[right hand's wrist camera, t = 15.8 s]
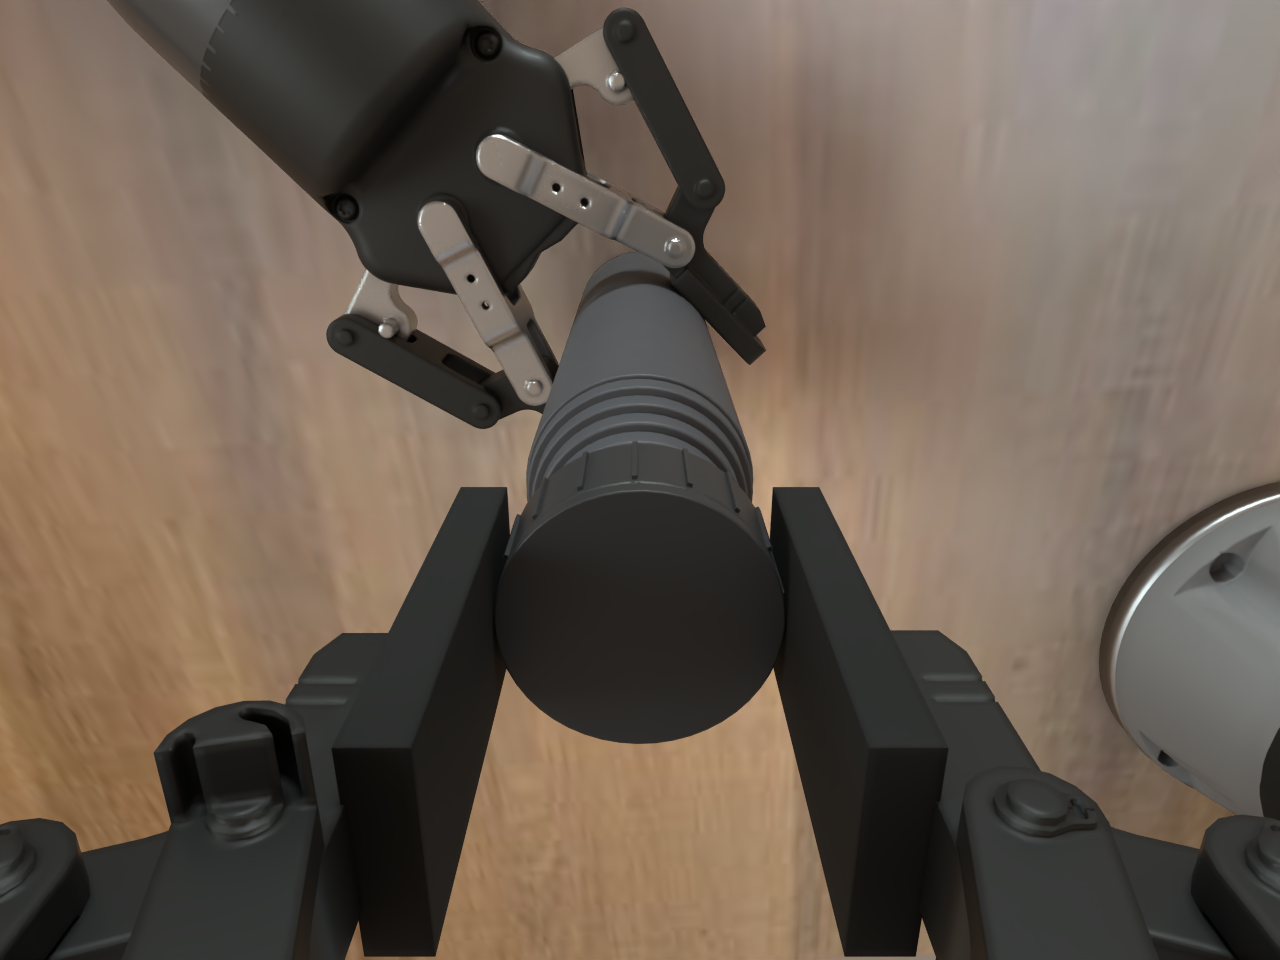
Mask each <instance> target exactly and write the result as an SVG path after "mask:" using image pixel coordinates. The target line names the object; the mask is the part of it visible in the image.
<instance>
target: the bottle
mask: <svg viewBox="0 0 1280 960" xmlns="http://www.w3.org/2000/svg"><path fill="white" fill-rule="evenodd" d="M669 273H670V272H669V271H668V270H667V269H666V268H665V267H664V266H663V265H662V264H661V263H659V262H657V261H655V260H653V259H651V258H649V257H648V256H646V255H644V254H642V253H640V252H632V253H627V254H622V255H620V256H617V257H615V258H613V259H611V260H609V261H607V262H606V263H605V264H603V265H602V266H601V267H600V268H599V269H598V270H597V271H596V272H595V273H594V274H593V276H592V277H591V278H590V280H589V282H588V283H587V286H586V288H585V290H584V293H583V296H582V299H581V302H580V305H579V308H578V311H577V314H576V317H575V320H574V323H573V326H572V329H571V332H570V334H569V337H568V340H567V343H566V346H565V349H564V352H563V355H562V358H561V361H560V364H559V367H558V370H557V373H556V376H555V379H554V382H553V385H552V388H551V391H550V394H549V397H548V400H547V403H546V406H545V409H544V412H543V415H542V417H541V420H540V423H539V426H538V429H537V432H536V435H535V438H534V441H533V444H532V447H531V451H530V455H529V458H528V465H527V473H526V474H527V501H529V500H530V499H531V497H532V496H533V494H534V493H535V492H536V490H537V489H538V488H539V487H540V485H541V481H542V479H543V478H544V477H546V478H547V479H548V478H549V477H550V476H552V475H553V474H554V473H555V472H557V471H558V470H559V469H560V468H562V467H564V466H565V465H567V464H568V463H570V462H572V461H573V460H575V459H577V458H580V457H582V454H583V452H586V451H588V453H591V452H594V451H598V450H601V449H604V448H608V447H614V446H620V445H629V444H632V442H633V441H638V444H650V445H661V446H666V447H671V448H675V449H680V450H683V448H686V449H688V452H689V453H691V454H694V455H696V456H698V457H700V458H702V459H704V460H706V461H708V462H710V463H711V464H713V465H714V466H716V467H717V468H719V469H720V470H722V471H723V472H725V473H726V472H727V471H728V472H730V473H731V475H732V479H733V480H734V481H735V482H736V483H737V484H738V485H739V487H740V488H741V489H742V490H743V491H744V492H745V493H746V495H747V496H748V498H749V499H750V501H751V502H752V495H753V468H752V462H751V457H750V452H749V449H748V446H747V443H746V440H745V437H744V434H743V431H742V428H741V426H740V423H739V420H738V417H737V414H736V411H735V408H734V405H733V402H732V399H731V396H730V393H729V390H728V387H727V384H726V381H725V378H724V375H723V372H722V369H721V366H720V363H719V360H718V357H717V354H716V352H715V349H714V346H713V343H712V340H711V337H710V334H709V331H708V328H707V325H706V322H705V319H704V318H703V317H702V316H701V315H700V314H699V312H698V311H697V310H696V309H695V308H694V307H693V306H692V304H690V303H689V302H688V301H687V300H686V299H685V298H684V297H683V296H682V295H681V294H680V293H679V292H678V291H677V290H676V288H675V287H674V286H673V285H672V284H671V279H670V274H669Z"/></svg>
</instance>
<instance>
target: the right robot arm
mask: <svg viewBox="0 0 1280 960" xmlns="http://www.w3.org/2000/svg"><path fill="white" fill-rule="evenodd" d="M509 537H510V528H509V512H508V495H507V487H461V488H460V490H459V492H458V494H457V496H456V498H455V500H454V502H453V504H452V506H451V508H450V510H449V512H448V514H447V516H446V518H445V520H444V522H443V524H442V526H441V528H440V530H439V532H438V534H437V536H436V538H435V540H434V542H433V544H432V546H431V548H430V550H429V553H428V555H427V557H426V559H425V561H424V563H423V565H422V567H421V569H420V571H419V573H418V575H417V577H416V579H415V581H414V583H413V585H412V587H411V589H410V591H409V593H408V595H407V597H406V599H405V601H404V603H403V605H402V607H401V609H400V611H399V613H398V615H397V617H396V619H395V621H394V623H393V625H392V627H391V629H390V631H389V633H342V634H341V635H339V636H338V637H337V638H335V639H334V640H333V641H331V642H330V643H329V644H327V645H326V646H325V647H323V648H322V649H321V650H319V651H318V652H316V653H315V654H314V655H313V657H312V658H311V660H310V661H309V663H308V665H307V666H306V668H305V670H304V671H303V673H302V674H301V676H300V678H299V682H298V684H295V686H294V687H293V689H292V691H291V692H290V694H289V695H288V697H287V699H286V704H285V705H284V704H280V703H277V702H273V701H242V702H237V703H233V704H228V705H224V706H220V707H215V708H213V709H211V710H209V711H206V712H204V713H202V714H199V715H197V716H195V717H193V718H190V719H188V720H187V721H185V722H184V723H183V724H181V725H180V726H179V727H177V728H176V729H174V730H173V731H172V732H170V733H169V734H168V735H166V737H165V738H164V740H163V741H162V742H161V744H160V745H159V746H158V748H157V749H156V750H155V752H154V756H155V760H156V764H157V768H158V772H159V776H160V780H161V784H162V788H163V792H164V796H165V800H166V804H167V808H168V812H169V816H170V820H171V826H170V829H169V831H167V832H163V833H160V834H157V835H153V836H150V837H147V838H143V839H139V840H135V841H130V842H126V843H122V844H117V845H113V846H108V847H104V848H100V849H95V850H91V851H87V852H82V853H81V851H80V847H79V844H78V841H77V837H76V834H75V833H74V832H73V831H72V830H71V829H69V828H68V827H67V826H66V825H65V824H64V823H63V822H58V821H53V820H47V819H42V818H36V819H28V820H19V821H11V822H7V823H4V824H1V825H0V960H345V957H346V954H347V951H348V949H349V946H350V943H351V940H352V937H353V934H354V932H355V929H356V926H357V923H358V920H359V926H360V932H361V938H362V945H363V951H364V957H435V956H436V952H437V948H438V944H439V940H440V936H441V931H442V927H443V923H444V919H445V915H446V911H447V907H448V903H449V899H450V895H451V891H452V887H453V883H454V879H455V875H456V871H457V867H458V863H459V859H460V855H461V850H462V846H463V842H464V838H465V834H466V830H467V826H468V822H469V818H470V814H471V810H472V806H473V802H474V798H475V794H476V790H477V786H478V782H479V778H480V773H481V769H482V765H483V761H484V757H485V753H486V749H487V745H488V741H489V737H490V733H491V729H492V725H493V721H494V717H495V713H496V709H497V705H498V701H499V696H500V692H501V688H502V684H503V680H504V676H505V672H506V666H505V664H504V661H503V659H502V657H501V655H500V651H499V648H498V644H497V640H496V635H495V627H494V604H495V598H496V593H497V588H498V585H499V581H500V578H501V575H502V572H503V568H504V565H505V562H506V560H505V559H503V556H504V553H505V550H506V547H507V543H508V540H509ZM770 542H771V545H772V549H773V550H772V553H773V556H774V560H775V563H776V566H777V569H778V573H779V576H780V579H781V582H782V585H783V589H784V592H785V593H784V601H785V608H786V622H785V632H784V638H783V643H782V646H781V650H780V653H779V656H778V659H777V661H776V663H775V665H774V667H773V668H774V672H775V676H776V680H777V684H778V688H779V692H780V696H781V700H782V705H783V709H784V713H785V717H786V721H787V725H788V729H789V733H790V737H791V741H792V745H793V749H794V753H795V757H796V761H797V765H798V769H799V773H800V777H801V782H802V786H803V790H804V794H805V798H806V802H807V806H808V810H809V814H810V818H811V822H812V826H813V830H814V834H815V838H816V842H817V846H818V850H819V854H820V859H821V863H822V867H823V871H824V875H825V879H826V883H827V887H828V891H829V895H830V899H831V903H832V907H833V911H834V915H835V919H836V923H837V927H838V931H839V935H840V940H841V944H842V948H843V952H844V956H845V957H896V956H904V957H905V956H906V957H908V956H909V957H911V956H912V957H914V956H916V951H917V945H918V939H919V932H920V926H921V920H922V919H923V922H924V924H925V927H926V930H927V933H928V936H929V939H930V941H931V944H932V947H933V950H934V953H935V955H936V960H1280V482H1279V483H1274V484H1270V485H1265V486H1261V487H1258V488H1255V489H1251V490H1248V491H1245V492H1243V493H1240V494H1237V495H1235V496H1232V497H1230V498H1227V499H1225V500H1223V501H1221V502H1219V503H1217V504H1215V505H1213V506H1211V507H1209V508H1207V509H1205V510H1204V511H1202V512H1200V513H1198V514H1197V515H1195V516H1193V517H1192V518H1190V519H1189V520H1187V521H1186V522H1185V523H1183V524H1182V525H1180V526H1179V527H1177V528H1176V529H1175V530H1174V531H1172V532H1171V533H1170V534H1169V535H1167V536H1166V537H1165V538H1164V539H1163V540H1162V541H1161V542H1159V543H1158V544H1157V545H1156V546H1155V547H1154V548H1153V549H1152V550H1151V551H1150V552H1149V553H1148V554H1147V555H1146V556H1145V558H1144V559H1143V560H1142V561H1141V562H1140V563H1139V564H1138V566H1137V567H1136V568H1135V569H1134V571H1133V572H1132V573H1131V575H1130V576H1129V577H1128V579H1127V580H1126V582H1125V583H1124V585H1123V587H1122V588H1121V590H1120V591H1119V593H1118V595H1117V597H1116V599H1115V601H1114V603H1113V605H1112V607H1111V610H1110V612H1109V615H1108V617H1107V620H1106V623H1105V626H1104V630H1103V634H1102V639H1101V645H1100V654H1099V670H1100V679H1101V684H1102V689H1103V692H1104V695H1105V698H1106V701H1107V703H1108V705H1109V707H1110V710H1111V712H1112V713H1113V715H1114V716H1115V718H1116V719H1117V721H1118V723H1119V724H1120V725H1121V726H1122V728H1123V729H1124V730H1125V731H1126V733H1127V734H1128V735H1129V736H1130V738H1131V739H1132V740H1133V741H1134V742H1135V744H1136V745H1137V746H1138V747H1139V748H1140V750H1141V751H1142V752H1143V753H1145V754H1146V755H1147V756H1148V757H1149V758H1150V759H1151V760H1152V761H1154V762H1155V763H1156V764H1157V765H1158V766H1160V767H1161V768H1162V769H1163V770H1164V771H1166V772H1167V773H1169V774H1170V775H1171V776H1173V777H1175V778H1176V779H1178V780H1179V781H1181V782H1183V783H1184V784H1186V785H1188V786H1190V787H1192V788H1194V789H1196V790H1197V791H1199V792H1200V793H1202V794H1203V795H1205V796H1206V797H1208V798H1210V799H1211V800H1213V801H1215V802H1216V803H1218V804H1220V805H1221V806H1223V807H1225V808H1226V809H1228V810H1230V811H1232V812H1233V813H1235V814H1237V815H1236V816H1230V817H1225V818H1219V819H1218V820H1217V821H1215V822H1214V823H1213V824H1212V825H1211V826H1210V827H1209V828H1207V829H1206V831H1205V834H1204V837H1203V841H1202V844H1201V847H1200V849H1196V848H1192V847H1187V846H1183V845H1179V844H1174V843H1170V842H1165V841H1161V840H1157V839H1152V838H1148V837H1143V836H1139V835H1135V834H1132V833H1129V832H1125V831H1122V830H1119V829H1115V828H1113V827H1111V826H1110V824H1109V822H1108V820H1107V819H1106V817H1105V816H1104V814H1103V813H1102V811H1101V809H1100V808H1099V806H1098V805H1097V803H1096V802H1094V801H1093V800H1092V799H1091V798H1090V797H1088V796H1087V795H1086V794H1085V793H1083V792H1082V791H1081V790H1080V789H1079V788H1077V787H1076V786H1074V785H1072V784H1070V783H1068V782H1066V781H1064V780H1062V779H1060V778H1058V777H1056V776H1054V775H1052V774H1050V773H1046V772H1042V771H1041V770H1040V769H1039V767H1038V766H1037V764H1036V762H1035V761H1034V759H1033V758H1032V756H1031V754H1030V753H1029V751H1028V749H1027V748H1026V746H1025V745H1024V743H1023V741H1022V740H1021V738H1020V737H1019V735H1018V733H1017V732H1016V730H1015V729H1014V727H1013V725H1012V724H1011V722H1010V721H1009V719H1008V717H1007V716H1006V714H1005V713H1004V711H1003V709H1002V708H1001V706H1000V705H999V703H998V702H995V697H994V695H993V693H992V692H991V690H990V688H989V687H988V685H987V684H986V682H985V681H982V676H981V674H980V672H979V671H978V669H977V668H976V666H975V664H974V663H973V661H972V660H971V658H970V656H969V655H968V653H967V652H966V651H965V650H964V649H962V648H961V647H960V646H958V645H957V644H956V643H954V642H953V641H951V640H950V639H949V638H947V637H946V636H945V635H943V634H942V633H941V632H939V631H890V629H889V627H888V625H887V623H886V621H885V619H884V617H883V615H882V613H881V611H880V609H879V607H878V605H877V603H876V601H875V599H874V597H873V595H872V593H871V591H870V589H869V587H868V585H867V583H866V581H865V579H864V577H863V575H862V573H861V571H860V569H859V567H858V565H857V563H856V561H855V559H854V557H853V554H852V552H851V550H850V548H849V546H848V544H847V542H846V540H845V538H844V536H843V534H842V532H841V530H840V528H839V526H838V524H837V522H836V520H835V518H834V516H833V514H832V512H831V510H830V508H829V506H828V504H827V502H826V500H825V498H824V496H823V494H822V492H821V490H820V488H819V487H773V495H772V512H771V528H770Z"/></svg>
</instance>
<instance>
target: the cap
mask: <svg viewBox="0 0 1280 960" xmlns="http://www.w3.org/2000/svg"><path fill="white" fill-rule="evenodd" d="M772 550H773V549H772V545H771V542H770V539H769V536H768V533H767V530H766V526H765V523H764V520H763V517H762V514H761V511H760V509H759V507H756V508H755V507H754V505H753V504H752V502H751V501H750V499H749V498H748V496H747V495H746V493H745V492H744V491H743V490H742V489H741V488H740V487H739V485H738V484H737V483H736V482H735V481H734V480H733V479H732V475H731V473H730V472H728V471H727V472H726V473H725V472H723V471H722V470H720V469H719V468H717V467H716V466H714V465H713V464H711V463H710V462H708V461H706V460H704V459H702V458H700V457H698V456H696V455H694V454H691V453H689V452H688V449H686V448H683V450H680V449H675V448H671V447H666V446H661V445H650V444H638V441H633V442H632V444H629V445H620V446H614V447H608V448H604V449H601V450H598V451H594V452H591V453H588V451H586V452H583V454H582V457H580V458H577V459H575V460H573V461H572V462H570V463H568V464H567V465H565V466H564V467H562V468H560V469H559V470H558V471H557V472H555V473H554V474H553V475H552V476H550V477H549V478H548V479H547V478H546V477H544V478H543V479H542V481H541V485H540V487H539V488H538V489H537V490H536V492H535V493H534V494H533V496H532V497H531V499H530V500H529V501H528V503H527V504H526V506H525V508H524V510H523V512H522V514H521V515H518V514H517V516H516V518H515V521H514V524H513V528H512V531H511V534H510V537H509V540H508V543H507V547H506V550H505V553H504V556H503V559H505V560H506V562H505V565H504V568H503V572H502V575H501V578H500V581H499V585H498V588H497V593H496V598H495V604H494V627H495V635H496V640H497V644H498V648H499V651H500V655H501V657H502V659H503V661H504V664H505V666H506V668H507V670H508V672H509V673H510V675H511V677H512V678H513V680H514V681H515V683H516V685H517V686H518V687H519V688H520V689H521V691H522V692H523V693H524V694H525V696H526V697H527V698H528V699H529V700H530V701H531V702H532V703H534V704H535V705H536V706H537V707H538V708H539V709H540V710H541V711H543V712H544V713H546V714H547V715H548V716H550V717H551V718H552V719H554V720H556V721H557V722H559V723H561V724H563V725H565V726H566V727H568V728H570V729H573V730H575V731H578V732H580V733H582V734H585V735H588V736H592V737H595V738H598V739H602V740H607V741H613V742H619V743H632V744H647V743H660V742H667V741H673V740H677V739H681V738H685V737H689V736H692V735H694V734H697V733H700V732H702V731H705V730H707V729H709V728H711V727H713V726H715V725H717V724H719V723H721V722H722V721H724V720H725V719H727V718H728V717H730V716H731V715H733V714H734V713H736V712H737V711H738V710H739V709H740V708H742V707H743V706H744V705H745V704H746V703H747V702H748V701H750V699H751V698H752V697H753V696H754V695H755V694H756V693H757V692H758V690H759V689H760V688H761V687H762V685H763V684H764V682H765V681H766V679H767V678H768V676H769V675H770V673H771V671H772V669H773V667H774V665H775V663H776V661H777V659H778V656H779V653H780V650H781V646H782V643H783V638H784V632H785V622H786V608H785V601H784V593H785V592H784V589H783V585H782V582H781V579H780V576H779V573H778V569H777V566H776V563H775V560H774V556H773V553H772Z"/></svg>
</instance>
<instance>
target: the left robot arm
mask: <svg viewBox="0 0 1280 960" xmlns="http://www.w3.org/2000/svg"><path fill="white" fill-rule="evenodd" d="M107 1H108V2H109V3H110V4H111V5H112V7H113V8H114V9H115V10H116V11H117V12H118V13H119V14H120V16H121V17H122V18H123V19H124V20H125V21H126V22H127V23H128V24H129V25H130V26H131V27H132V28H133V29H134V30H135V31H136V32H137V33H138V34H139V35H140V36H141V37H142V38H143V39H144V40H145V41H146V42H147V43H148V44H149V45H150V46H151V47H152V48H153V49H154V50H155V51H157V52H158V53H159V54H160V55H161V56H162V57H163V58H164V59H165V60H166V61H167V62H168V63H169V64H170V65H171V66H172V67H173V68H175V69H176V70H177V71H178V72H179V73H180V74H181V75H182V76H183V77H184V78H185V79H186V80H187V81H188V82H189V83H191V84H192V85H193V86H194V87H195V88H196V89H197V90H198V91H199V92H200V93H201V94H202V95H203V96H205V97H206V99H208V100H209V101H210V102H211V103H212V104H213V105H214V106H215V107H216V108H217V109H218V110H219V111H220V112H221V113H222V114H224V115H225V116H226V117H227V118H228V119H229V120H230V121H231V122H232V123H233V124H234V125H235V126H236V127H237V128H239V129H240V130H241V131H242V132H243V133H244V134H245V135H246V136H247V137H248V138H249V139H250V140H251V141H253V142H254V143H255V144H256V145H257V146H258V147H259V148H260V149H261V150H262V151H263V152H264V153H265V154H266V155H267V156H269V157H270V158H271V159H272V160H273V161H274V162H275V163H276V164H277V165H278V166H279V167H280V168H281V169H282V170H283V171H284V172H286V173H287V174H288V175H289V176H290V177H291V178H292V179H293V180H294V181H295V182H296V183H297V184H298V185H299V186H300V187H301V188H302V189H304V190H305V191H306V192H307V193H308V194H309V195H310V196H311V197H312V198H313V199H314V200H315V201H316V202H317V203H318V204H319V205H321V206H322V207H323V208H324V209H325V210H326V211H327V212H328V213H330V214H331V215H332V216H333V217H334V218H335V219H336V220H338V221H339V222H340V223H341V224H342V226H343V227H344V228H345V229H346V231H347V232H348V234H349V235H350V237H351V239H352V241H353V243H354V245H355V248H356V251H357V253H358V256H359V259H360V261H361V262H362V264H363V265H364V267H365V268H366V271H365V273H364V275H363V277H362V279H361V281H360V283H359V285H358V288H357V290H356V292H355V294H354V296H353V298H352V300H351V303H350V305H349V307H348V309H347V311H346V313H345V314H344V315H342V316H341V317H339V318H337V319H336V320H334V321H333V322H332V323H331V324H330V325H329V327H328V329H327V334H326V335H327V341H328V343H329V345H330V347H331V348H332V349H333V350H334V351H335V352H337V353H338V354H340V355H342V356H344V357H346V358H348V359H350V360H351V361H353V362H355V363H357V364H359V365H361V366H362V367H364V368H366V369H368V370H370V371H372V372H374V373H375V374H377V375H379V376H381V377H383V378H385V379H387V380H388V381H390V382H392V383H394V384H396V385H398V386H400V387H401V388H403V389H405V390H407V391H409V392H411V393H412V394H414V395H416V396H418V397H420V398H422V399H424V400H425V401H427V402H429V403H431V404H433V405H435V406H437V407H438V408H440V409H442V410H444V411H446V412H448V413H449V414H451V415H453V416H455V417H457V418H459V419H461V420H462V421H464V422H466V423H468V424H470V425H472V426H474V427H476V428H479V429H486V428H490V427H492V426H493V425H495V424H496V423H497V421H498V420H499V419H502V418H504V417H506V416H508V415H511V414H513V413H515V412H517V411H520V410H526V409H529V410H535V411H537V412H540V413H541V414H543V412H544V409H545V406H546V403H547V400H548V397H549V394H550V391H551V388H552V385H553V382H554V379H555V376H556V373H557V370H558V367H559V364H558V362H557V360H556V358H555V356H554V354H553V352H552V350H551V348H550V346H549V344H548V342H547V341H546V339H545V337H544V335H543V333H542V331H541V329H540V327H539V325H538V323H537V321H536V319H535V317H534V313H533V309H532V307H531V304H530V302H529V300H528V298H527V296H526V294H525V293H524V291H523V289H522V287H521V285H520V283H521V282H522V281H523V280H524V279H525V278H526V276H527V275H528V274H529V273H530V271H531V270H532V269H533V267H534V265H535V263H536V261H537V260H538V258H539V256H540V254H541V252H543V251H544V250H546V249H548V248H549V247H551V246H553V245H554V244H556V243H558V242H559V241H561V240H562V239H563V238H564V237H565V236H566V235H567V234H568V233H569V232H570V231H571V230H572V229H573V228H574V227H575V226H576V225H577V224H578V223H579V224H581V225H583V226H585V227H587V228H589V229H591V230H593V231H595V232H597V233H599V234H601V235H603V236H605V237H607V238H610V239H613V240H616V241H618V242H620V243H622V244H624V245H626V246H628V247H630V248H632V249H634V250H636V251H638V252H640V253H642V254H644V255H646V256H648V257H649V258H651V259H653V260H655V261H657V262H659V263H661V264H662V265H663V266H664V267H665V268H666V269H667V270H668V271H669V272H670V273H669V274H670V279H671V284H672V285H673V286H674V287H675V288H676V290H677V291H678V292H679V293H680V294H681V295H682V296H683V297H684V298H685V299H686V300H687V301H688V302H689V303H690V304H692V306H693V307H694V308H695V309H696V310H697V311H698V312H699V314H700V315H701V316H702V317H703V318H704V319H705V320H706V321H707V322H708V323H709V324H710V325H711V326H712V327H713V328H714V329H715V330H716V331H717V332H718V333H719V334H720V335H721V337H722V338H723V339H724V340H725V341H726V342H727V343H728V344H729V345H730V346H731V347H732V348H733V349H734V350H735V351H736V352H737V353H738V354H739V355H740V356H741V357H742V358H743V359H744V360H745V361H746V362H747V363H748V364H749V365H751V364H752V363H753V362H754V361H755V360H756V359H757V358H758V357H759V356H760V355H762V354H763V353H764V352H765V351H766V349H765V347H764V346H763V344H762V342H761V341H760V339H759V338H758V337H757V336H756V335H757V334H758V333H759V332H760V331H761V330H762V329H763V328H765V327H766V326H765V323H764V321H763V318H762V315H761V313H760V310H759V309H758V307H757V306H756V304H755V303H754V302H753V300H752V299H751V298H750V297H749V296H748V295H747V294H746V293H745V292H744V291H743V290H742V289H741V288H740V286H739V285H738V284H737V283H736V282H735V281H734V280H733V279H732V278H731V277H730V276H729V275H728V274H727V273H726V271H725V270H724V269H723V268H722V267H721V266H720V265H719V264H718V263H717V262H716V261H715V260H714V259H713V257H712V256H711V255H710V254H709V253H708V252H707V251H706V250H705V248H704V245H703V233H704V230H705V227H706V225H707V223H708V221H709V219H710V217H711V215H712V213H713V211H714V209H715V207H716V206H717V205H718V204H719V203H720V202H721V201H722V199H723V197H724V193H725V184H724V181H723V178H722V176H721V174H720V172H719V170H718V168H717V166H716V164H715V162H714V160H713V158H712V156H711V154H710V152H709V150H708V148H707V146H706V144H705V142H704V140H703V138H702V136H701V134H700V132H699V130H698V128H697V126H696V124H695V122H694V120H693V118H692V116H691V114H690V112H689V110H688V108H687V106H686V104H685V102H684V100H683V98H682V96H681V94H680V92H679V90H678V88H677V86H676V84H675V82H674V80H673V78H672V76H671V74H670V72H669V70H668V68H667V66H666V64H665V62H664V60H663V58H662V56H661V54H660V52H659V50H658V48H657V46H656V44H655V42H654V40H653V38H652V36H651V34H650V32H649V30H648V28H647V26H646V24H645V22H644V20H643V19H642V17H641V16H640V15H639V14H638V13H637V12H636V11H634V10H632V9H630V8H619V9H616V10H614V11H613V12H612V13H610V14H609V16H608V17H607V18H606V20H605V23H604V26H603V27H602V28H600V29H599V30H597V31H596V32H594V33H592V34H591V35H589V36H588V37H586V38H584V39H583V40H581V41H580V42H578V43H577V44H575V45H573V46H572V47H570V48H569V49H567V50H566V51H564V52H562V53H561V54H559V55H558V56H556V57H555V58H553V57H552V56H550V55H549V54H547V53H545V52H543V51H540V50H537V49H533V48H530V47H527V46H525V45H523V44H521V43H519V42H517V41H516V40H514V39H513V38H512V37H511V36H510V35H509V34H508V33H507V32H506V31H505V30H504V28H503V27H502V26H501V25H500V24H499V23H498V22H497V21H496V20H495V19H494V18H493V17H492V15H491V14H490V13H489V12H488V11H487V10H486V9H485V8H484V7H483V6H482V5H481V4H480V3H479V1H478V0H107ZM582 85H586V86H591V87H593V88H595V89H596V90H597V91H598V92H599V93H600V95H601V96H602V98H603V99H604V100H606V101H607V102H608V103H610V104H613V105H624V104H627V103H628V102H630V101H632V100H633V99H634V101H635V103H636V105H637V106H638V108H639V110H640V112H641V114H642V116H643V118H644V120H645V122H646V124H647V126H648V128H649V130H650V132H651V133H652V135H653V137H654V139H655V141H656V143H657V145H658V147H659V149H660V151H661V153H662V155H663V157H664V158H665V160H666V162H667V164H668V166H669V168H670V170H671V172H672V174H673V176H674V178H675V180H676V182H677V184H678V187H677V189H676V191H675V193H674V195H673V198H672V200H671V202H670V204H669V206H668V208H667V210H666V213H664V212H662V211H660V210H658V209H656V208H654V207H652V206H651V205H649V204H647V203H645V202H643V201H641V200H639V199H637V198H636V197H634V196H632V195H631V194H629V193H628V192H626V191H624V190H622V189H621V188H619V187H617V186H615V185H613V184H611V183H609V182H607V181H606V180H604V179H602V178H600V177H598V176H596V175H594V174H592V173H590V172H589V171H587V170H586V168H585V162H584V156H583V150H582V143H581V137H580V131H579V125H578V119H577V113H576V106H575V100H574V94H573V88H575V87H577V86H582ZM398 285H403V286H409V287H415V288H421V289H427V290H433V291H439V292H445V293H451V294H457V295H458V296H459V298H460V300H461V302H462V304H463V306H464V307H465V309H466V311H467V313H468V315H469V316H470V318H471V320H472V322H473V324H474V325H475V327H476V329H477V331H478V333H479V334H480V336H481V338H482V340H483V341H484V343H485V344H486V345H487V346H488V347H489V348H491V349H492V350H493V352H494V353H495V355H496V357H497V359H498V361H499V362H500V364H501V366H502V368H503V370H502V371H499V372H497V373H494V372H493V371H491V370H489V369H487V368H485V367H484V366H482V365H480V364H478V363H476V362H475V361H473V360H471V359H469V358H467V357H466V356H464V355H462V354H460V353H458V352H457V351H455V350H453V349H451V348H449V347H448V346H446V345H444V344H442V343H440V342H439V341H437V340H435V339H433V338H432V337H430V336H428V335H426V334H424V333H423V332H421V331H419V330H417V329H416V328H417V317H416V314H415V312H414V311H413V310H412V309H411V308H410V307H409V306H408V305H406V304H405V303H404V302H403V301H402V299H401V298H400V296H399V292H398ZM484 302H487V305H488V307H487V306H485V304H484Z"/></svg>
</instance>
